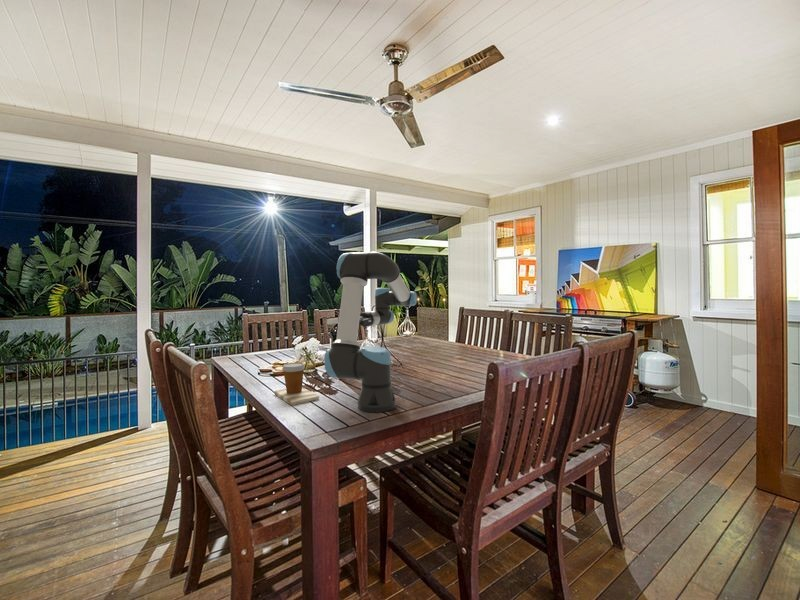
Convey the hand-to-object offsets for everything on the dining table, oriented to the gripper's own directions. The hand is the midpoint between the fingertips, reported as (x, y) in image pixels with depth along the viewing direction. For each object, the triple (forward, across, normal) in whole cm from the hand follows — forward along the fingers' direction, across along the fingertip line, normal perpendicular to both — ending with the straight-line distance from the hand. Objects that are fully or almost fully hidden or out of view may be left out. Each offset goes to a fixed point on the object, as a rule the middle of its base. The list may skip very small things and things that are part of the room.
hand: (336, 322), depth 178 cm
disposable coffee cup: (+21, +3, -29) cm, 36 cm away
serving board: (+22, 0, -30) cm, 37 cm away
